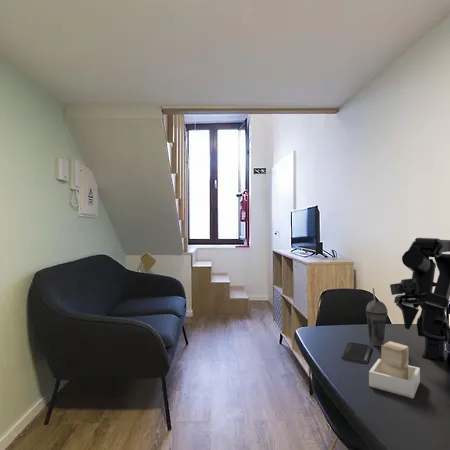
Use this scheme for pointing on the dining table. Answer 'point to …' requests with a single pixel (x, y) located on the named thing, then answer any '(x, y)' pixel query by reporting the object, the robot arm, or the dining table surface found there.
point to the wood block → (394, 360)
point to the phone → (357, 352)
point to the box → (395, 381)
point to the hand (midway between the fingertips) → (415, 329)
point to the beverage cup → (376, 321)
